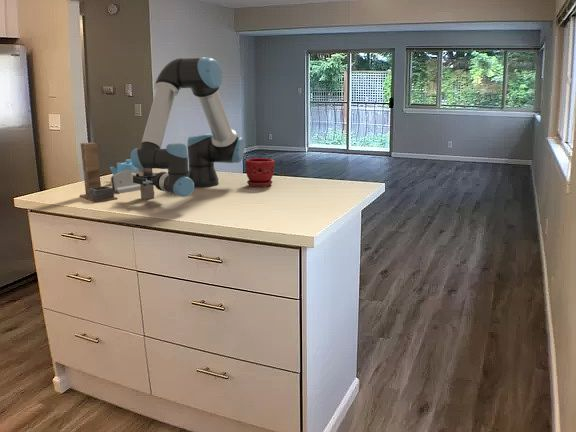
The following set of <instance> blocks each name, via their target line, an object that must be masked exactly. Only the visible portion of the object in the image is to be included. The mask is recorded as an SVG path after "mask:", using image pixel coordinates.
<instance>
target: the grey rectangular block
mask: <svg viewBox="0 0 576 432" xmlns="http://www.w3.org/2000/svg"><path fill="white" fill-rule="evenodd" d="M152 172H153V168H146V169H144V168H139V175H140V176H147V177H148V176H153V173H152ZM154 187H155V186H154V185H150V184H149V183H147V185H146V186H144V185H142V184H140V189H141V190H140V198H141V199H143V200H151V199H155V190H154V189H155V188H154Z"/></svg>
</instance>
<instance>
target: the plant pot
mask: <svg viewBox="0 0 576 432" xmlns="http://www.w3.org/2000/svg"><path fill="white" fill-rule="evenodd" d="M265 169H266V170H265ZM274 169H275V160H274V159H272V158H247V159H245V172H246V177H247V179H248V180H247V181H246V182H247V185H249V186H251V187H253V188H256V187H257V188H258V187H259V188H260V187H262V188H263V187H264V186H265V187H269V186H271V185H272V183H273V180H272V179H273V175H274V171H275V170H274Z"/></svg>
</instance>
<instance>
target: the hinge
mask: <svg viewBox="0 0 576 432" xmlns="http://www.w3.org/2000/svg"><path fill="white" fill-rule="evenodd" d="M131 173H134V174H139V171H138V170H126V171H122V172H119V173H117V174H115V175H113V174H112V176H111V177H110V185H111V188H113V191H114V193H117V194H125V193H132V192H135V191H141V189H140V184H137V183H133V180H132V176H131Z"/></svg>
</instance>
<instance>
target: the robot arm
mask: <svg viewBox="0 0 576 432" xmlns="http://www.w3.org/2000/svg"><path fill="white" fill-rule="evenodd" d="M222 74H223V73H222V69H221V66H220V64H219V63H218V61H217V60H216V59H214V58H212V57H204V56H203V57H198V58H195V57H192V58H189V57H188V58H184V57H183V58H182V57H181V58H176V59H173V60H171V61H169V63H167V64H165V66H164V67H163V68H162V69H161V71H160V73H159V74H158V76H157V78H156V79H155V83H154V89H155V94H154V97H153V99H152V104H151V108H150V112H149V115H148V118H147V122H146V125H145V129H144V133H143V135H142V139H141V143H140V146H139V147H136V148H133V150H132V151H131V152H130V159H131V163H132V165H133V166H134V167H136V168H144V169H146V168H152V169H158V170H167V171H160V172H155V171H152V173H153V176H148V177H147V176H140V175H139V174H134V173H131V176H132V180H133V183H137V184H142V185H144V186H146V185H147V183H149V184H150V185H153V186H154V187H155V188H156V189H157V190H159V191H161V192H166V193H169V195H175V196H177V197H183V198H184V197H189V196H190V195H192V193H193V192H194V190H195V188H202V187H203V188H204V187H213V186H217V185H219V184H220V183H219V177H218V174H217V172H216V168H215V163H222V164H223V163H225V164H236V163H237V164H238V163H240V162H242V160H243V158H244V153H245V147H246V144H245V139H244V137H242V136H238V134H237V132H236V130H234V129H233V128H232V127H231V125H230V121H229V118H228V116H227V112H226V110H225V107H224V103H223V101H222V98H221V95H220V93H219V90H220V88H221V85H222V83H223V75H222ZM181 89H191V91H192V94H193V95H194V96H195V97H197V98H198V99H199V102H200V106H201V107H202V110H203V113H204V116H205V118H206V121H207V123H208V126H209V129H210V131H211V133H204V134H196V135H192V136H188V138H187V144H185V143H169V144H167V145H166V148H162V144H163V141H164V137H165V133H166V129H167V126H168V122H169V119H170V116H171V115H170V114H171V112H172V111H171V110H172V108H173V105H174V101H175V97H177V96H178V95H179V93H180V90H181Z"/></svg>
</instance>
